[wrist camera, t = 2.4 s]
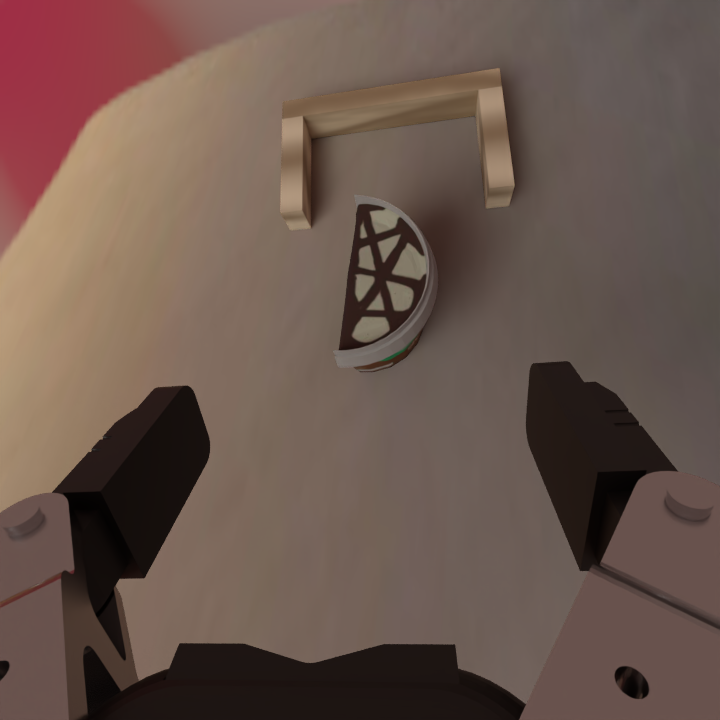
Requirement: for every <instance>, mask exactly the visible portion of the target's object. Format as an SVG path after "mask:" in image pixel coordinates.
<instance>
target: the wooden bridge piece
mask: <svg viewBox="0 0 720 720" xmlns="http://www.w3.org/2000/svg"><path fill="white" fill-rule="evenodd" d="M470 116H476V125H477V134H478V143H479V152H480V161H481V170H482V179H483V188H484V198H485V207H486V209H489V208H498V207H507V206H509V204H510V201H511V197H512V193H513V190H514V186H515V184H514V176H513V168H512V161H511V153H510V145H509V138H508V130H507V122H506V115H505V107H504V99H503V92H502V84H501V76H500V69H499V68H496V69H490V70H483V71H477V72H470V73H464V74H458V75H451V76H445V77H438V78H432V79H425V80H419V81H412V82H406V83H400V84H393V85H387V86H380V87H374V88H367V89H361V90H354V91H348V92H342V93H335V94H329V95H322V96H316V97H309V98H303V99H296V100H290V101H284V102H283V113H282V158H281V204H280V213H281V215H282V217H283V218H284V220H285V222H286V223H287V225H288V227H289V229H290V230H300V229H309V228H311V139H314V138H321V137H329V136H336V135H343V134H350V133H357V132H364V131H371V130H378V129H385V128H392V127H399V126H406V125H414V124H421V123H428V122H435V121H442V120H449V119H456V118H463V117H470Z"/></svg>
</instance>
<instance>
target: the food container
mask: <svg viewBox="0 0 720 720" xmlns="http://www.w3.org/2000/svg"><path fill="white" fill-rule="evenodd" d="M354 197H355V201H356V206H357V213H356V226H355V233H354V240H353V246H352V253H351V259H350V265H349V271H348V279H347V289H346V298H345V307H344V315H343V322H342V330H341V338H340V346H339V350H333V352H334V354H335V360H336V362H337V364H338V367H354V368H355V369H356V370H358V371H359V372H375V371H379V370H382V369H386V368H389V367H392V366H393V365H395V364H397V363H398V362H400V361H401V360H403V359H404V358H406V357H407V356H408V354H409V353H410V352H411V351H412V349H413V348H414V347H415V346H416V345H417V343H418V340H419V338H420V335H421V333H422V329H423V326H424V325H425V323H426V322H427V320H428V318H429V316H430V314H431V312H432V309H433V306H434V304H435V301H436V296H437V290H438V270H437V265H436V260H435V257H434V254H433V252H432V249H431V247H430V245H429V243H428V241H427V239H426V238H425V236H424V234H423V232H422V231H421V229H420V228H419V227H418V226H417V224H416V223H415V222H414V221H413V220H412V219H411V218H410V217H409V216H407V215H406V214H405V213H404V212H402V211H401V210H400V209H398V208H397V207H395V206H393V205H392V204H390V203H388V202H385V201H383V200H380V199H378V198H373V197H369V196H363V195H354Z"/></svg>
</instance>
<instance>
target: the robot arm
mask: <svg viewBox="0 0 720 720" xmlns="http://www.w3.org/2000/svg"><path fill="white" fill-rule="evenodd" d="M526 433H527V439H528V444H529V447H530V450H531V452H532V454H533V457H534V459H535V462H536V464H537V467H538V469H539V472H540V474H541V476H542V479H543V481H544V484H545V486H546V489H547V491H548V494H549V496H550V498H551V501H552V503H553V506H554V508H555V511H556V513H557V516H558V518H559V520H560V523H561V525H562V528H563V530H564V533H565V535H566V538H567V540H568V542H569V545H570V547H571V550H572V552H573V555H574V557H575V560H576V562H577V564H578V567H579V569H580V571H589V572H588V574H587V576H586V578H585V580H584V582H583V584H582V586H581V588H580V591H579V593H578V595H577V597H576V599H575V601H574V603H573V606H572V608H571V610H570V612H569V614H568V616H567V618H566V621H565V623H564V625H563V627H562V629H561V631H560V633H559V635H558V638H557V640H556V642H555V644H554V646H553V648H552V650H551V653H550V655H549V657H548V659H547V661H546V663H545V665H544V667H543V670H542V672H541V674H540V676H539V678H538V680H537V682H536V685H535V687H534V689H533V691H532V693H531V695H530V697H529V700H528V702H527V704H525V703H523V702H522V701H521V700H519V699H518V698H517V697H515V696H514V695H513V694H511V693H510V692H509V691H507V690H505V689H504V688H502V687H500V686H498V685H497V684H495V683H493V682H492V681H490V680H487V679H485V678H483V677H481V676H478V675H476V674H474V673H471V672H468V671H464V670H461V669H458V665H457V657H456V648H455V645H433V644H383V645H379V646H376V647H372V648H368V649H365V650H361V651H357V652H353V653H350V654H346V655H342V656H339V657H335V658H331V659H327V660H324V661H320V662H316V663H304V662H300V661H297V660H294V659H291V658H288V657H284V656H281V655H278V654H275V653H272V652H269V651H265V650H262V649H259V648H256V647H253V646H249V645H246V644H194V643H179V646H178V648H177V651H176V653H175V656H174V658H173V661H172V663H171V665H170V668H169V669H166V670H163V671H161V672H158V673H156V674H153V675H150V676H148V677H146V678H144V679H142V680H140V681H139V680H138V677H137V673H136V669H135V664H134V659H133V654H132V648H131V643H130V638H129V633H128V628H127V623H126V618H125V612H124V607H123V602H122V598H121V595H120V593H119V591H118V589H117V588H116V586H115V585H116V584H117V582H118V580H119V579H128V578H145V576H146V574H147V573H148V571H149V569H150V567H151V565H152V563H153V561H154V560H155V558H156V556H157V554H158V552H159V550H160V549H161V547H162V545H163V543H164V541H165V539H166V537H167V536H168V534H169V532H170V530H171V528H172V526H173V524H174V523H175V521H176V519H177V517H178V515H179V513H180V512H181V510H182V508H183V506H184V504H185V502H186V500H187V499H188V497H189V495H190V493H191V491H192V489H193V487H194V486H195V484H196V482H197V480H198V478H199V476H200V475H201V473H202V471H203V469H204V467H205V465H206V463H207V461H208V458H209V454H210V440H209V436H208V432H207V429H206V426H205V423H204V420H203V417H202V414H201V411H200V408H199V405H198V402H197V399H196V396H195V394H194V391H193V390H192V388H191V387H189V386H172V387H158V388H155V389H154V390H153V391H152V392H151V393H150V394H149V395H148V396H147V397H146V399H145V400H144V401H143V402H142V403H141V404H140V405H139V406H138V408H137V409H135V410H133V411H132V412H130V413H129V414H127V415H126V416H124V417H123V418H121V419H120V420H118V421H117V422H116V423H115V424H114V425H113V426H112V427H111V428H110V429H109V430H108V431H107V432H106V434H105V435H104V436H103V440H99V441H98V442H97V443H96V445H95V446H94V447H93V448H92V452H88V453H87V454H86V456H85V457H84V458H83V459H82V460H81V461H80V462H79V463H78V464H77V465H76V467H75V468H74V469H73V470H72V471H71V472H70V473H69V474H68V475H67V476H66V478H65V479H64V480H63V481H62V482H61V483H60V484H59V485H58V486H57V487H56V489H55V490H54V491H53V492H52V493H44V494H39V495H35V496H32V497H29V498H26V499H24V500H22V501H20V502H17V503H16V504H14V505H12V506H10V507H8V508H7V509H5V510H4V511H2V512H1V513H0V720H720V486H718V485H716V484H714V483H712V482H710V481H708V480H706V479H703V478H700V477H698V476H695V475H691V474H687V473H682V472H678V471H677V470H676V468H675V467H674V466H673V465H672V463H671V462H670V461H669V460H668V458H667V457H666V456H665V455H664V453H663V452H662V451H661V450H660V448H659V447H658V446H657V445H656V443H655V442H654V441H653V440H652V438H651V437H650V436H649V435H648V433H647V432H646V431H645V430H644V428H643V427H642V426H639V422H638V421H637V420H636V418H635V417H634V416H633V415H632V413H629V412H628V408H627V407H626V406H625V405H624V403H623V402H622V401H621V400H620V398H619V397H618V396H617V395H616V394H615V393H613V392H612V391H610V390H609V389H607V388H605V387H604V386H602V385H600V384H599V383H597V382H584V381H583V380H582V379H581V377H580V376H579V374H578V373H577V372H576V370H575V369H574V367H573V366H572V365H571V363H570V362H568V361H564V362H547V363H533V364H532V365H531V368H530V374H529V387H528V400H527V413H526Z"/></svg>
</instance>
